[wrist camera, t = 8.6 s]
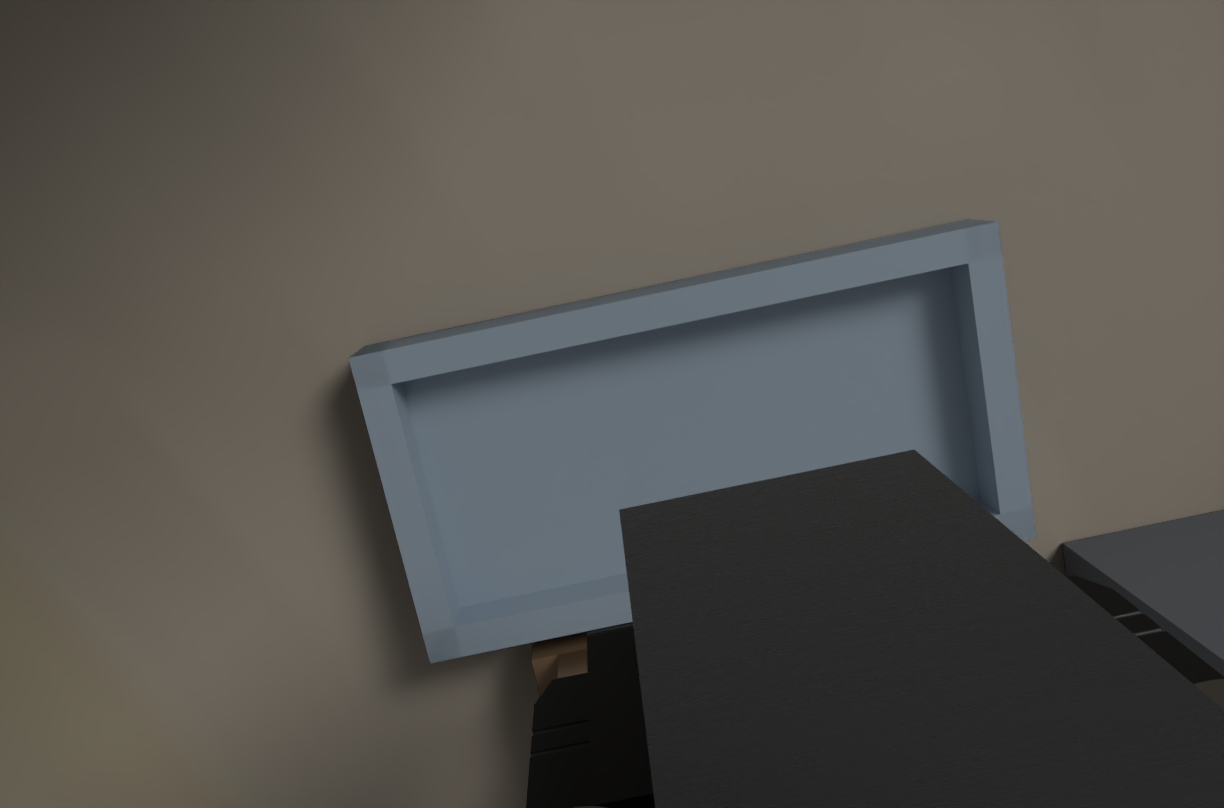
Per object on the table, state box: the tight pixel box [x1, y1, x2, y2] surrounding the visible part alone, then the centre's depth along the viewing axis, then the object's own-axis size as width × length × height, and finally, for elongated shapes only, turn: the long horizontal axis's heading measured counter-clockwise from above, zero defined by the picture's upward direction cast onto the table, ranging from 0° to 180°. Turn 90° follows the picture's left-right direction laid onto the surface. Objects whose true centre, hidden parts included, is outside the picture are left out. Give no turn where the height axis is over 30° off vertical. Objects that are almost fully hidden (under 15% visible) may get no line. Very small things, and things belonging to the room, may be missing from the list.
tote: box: [349, 219, 1036, 663], centre depth 24 cm, size 8×15×2 cm, turn 102°
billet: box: [619, 449, 1224, 808], centre depth 10 cm, size 4×4×8 cm
